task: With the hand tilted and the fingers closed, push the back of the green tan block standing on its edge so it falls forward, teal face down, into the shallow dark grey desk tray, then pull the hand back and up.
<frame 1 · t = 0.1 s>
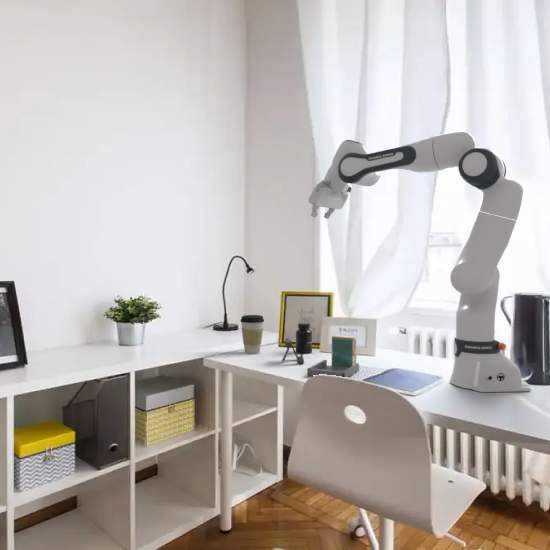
hand: (319, 217, 182), 54 cm above the table, tool tilted 30°, fingers open, 8 cm apart
supplement bottle: (303, 352, 200), on the table
green tan block: (343, 367, 175), on the table
coffee cup: (252, 353, 200), on the table
tray: (333, 373, 166), on the table
portable electronic device stand: (292, 362, 183), on the table
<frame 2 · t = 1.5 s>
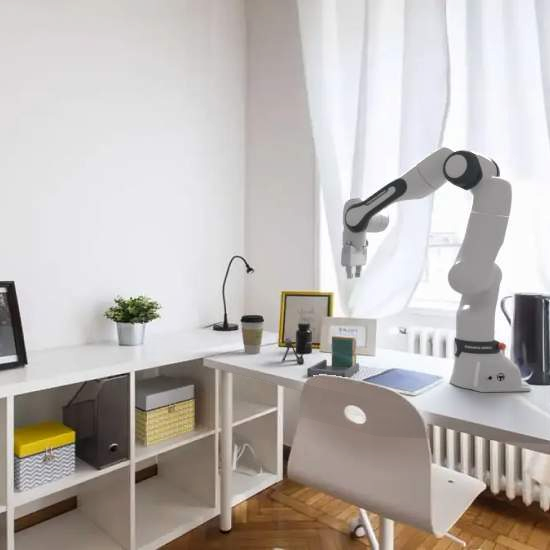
hand: (353, 277, 187), 31 cm above the table, tool pointing down, fingers open, 8 cm apart
nothing on the table moved.
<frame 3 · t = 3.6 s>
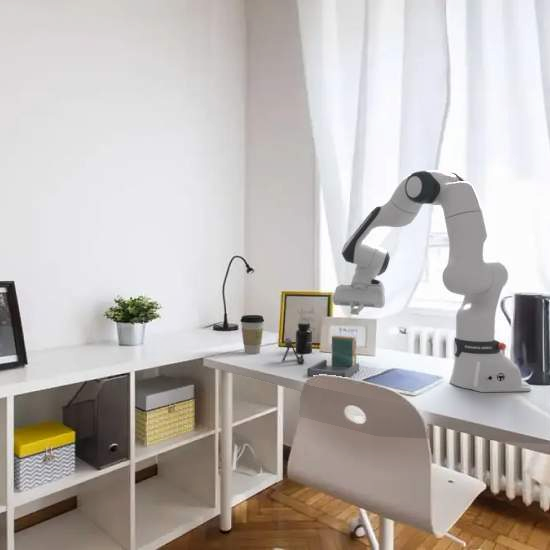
hand: (354, 313, 185), 18 cm above the table, tool tilted 45°, fingers closed
nothing on the table moved.
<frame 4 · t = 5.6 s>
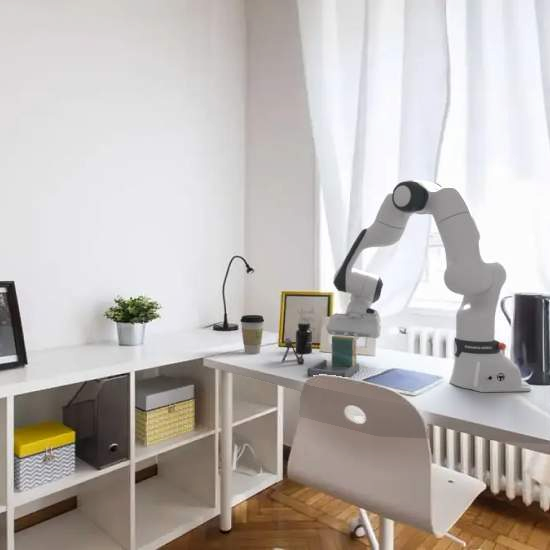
hand: (348, 344, 179), 7 cm above the table, tool tilted 45°, fingers closed
nothing on the table moved.
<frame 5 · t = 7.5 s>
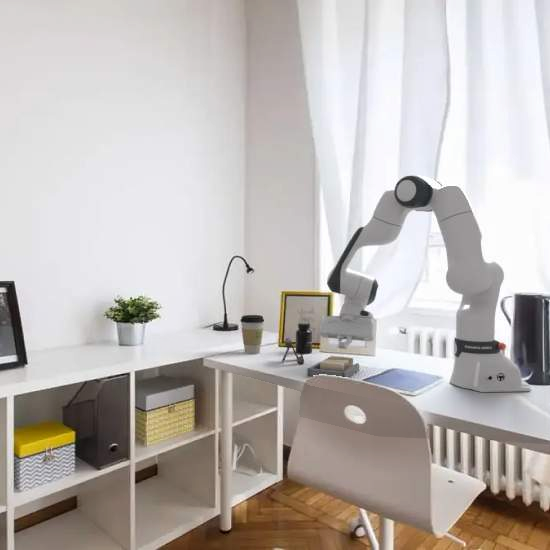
hand: (342, 347, 173), 7 cm above the table, tool tilted 45°, fingers closed
green tan block: (342, 361, 173), point 2 cm above the table, tilted 90°, touching tray
everything else where it was.
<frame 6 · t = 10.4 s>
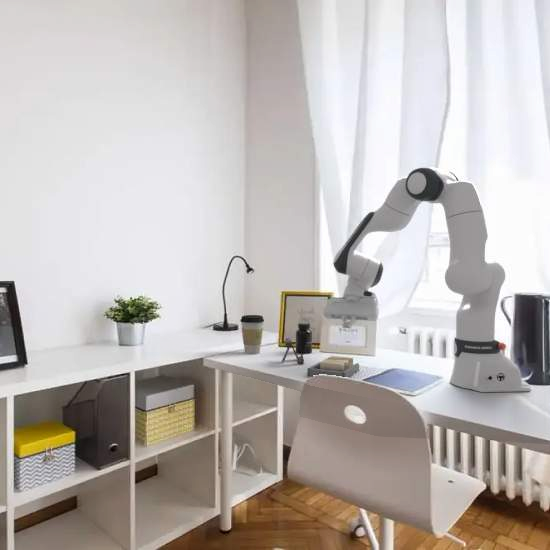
hand: (346, 327, 176), 14 cm above the table, tool tilted 45°, fingers closed
nothing on the table moved.
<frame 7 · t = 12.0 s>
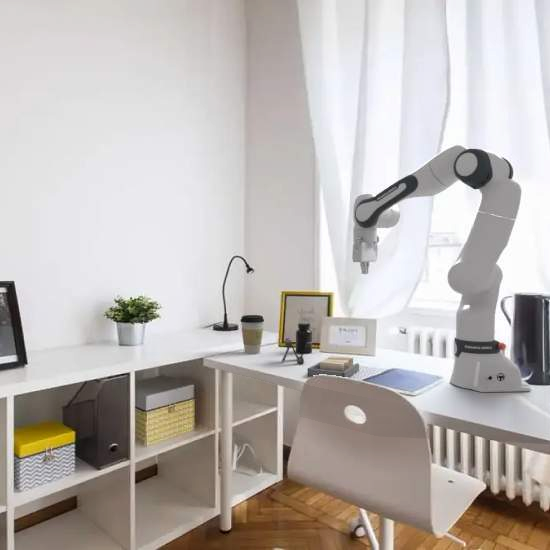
hand: (364, 273, 186), 33 cm above the table, tool pointing down, fingers closed
nothing on the table moved.
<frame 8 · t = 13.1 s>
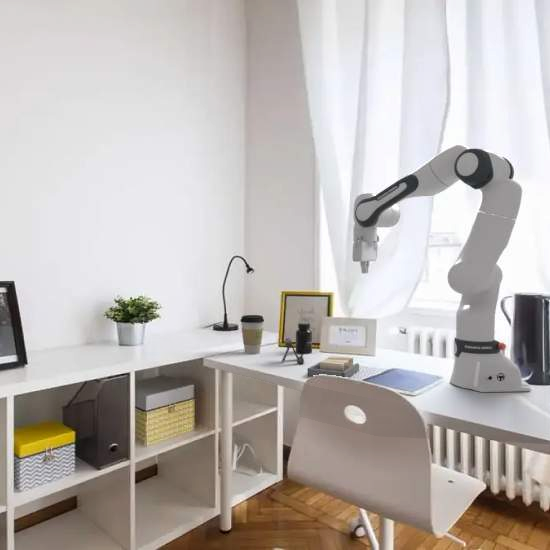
hand: (364, 273, 186), 33 cm above the table, tool pointing down, fingers closed
nothing on the table moved.
at the end: green tan block tilted 90°; green tan block touching tray; the gripper is holding nothing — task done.
